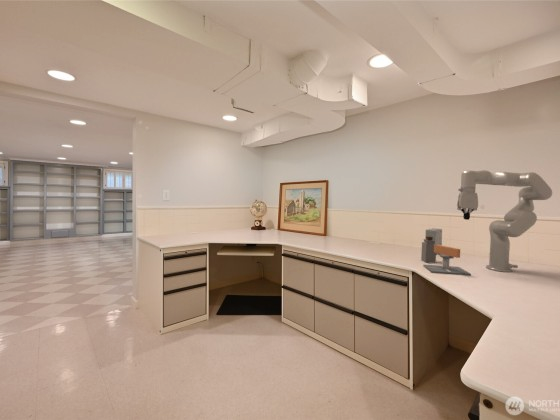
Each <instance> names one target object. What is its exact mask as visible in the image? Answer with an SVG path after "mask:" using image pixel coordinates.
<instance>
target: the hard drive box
mask: <svg viewBox="0 0 560 420" xmlns="http://www.w3.org/2000/svg"><path fill="white" fill-rule="evenodd" d="M424 236H425V237H424V239H426V236H431V237H433V240H435V242H434V243H435V244H436V245H442V246H443V229H442V228H436V227H435V228H434V227H433V228H428V229H425V235H424ZM436 255H439V253H436Z"/></svg>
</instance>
